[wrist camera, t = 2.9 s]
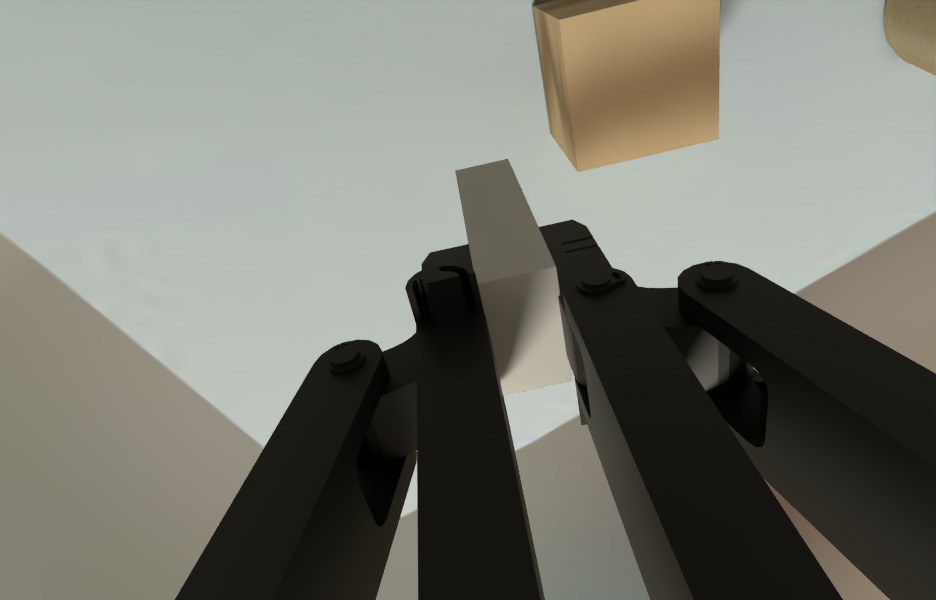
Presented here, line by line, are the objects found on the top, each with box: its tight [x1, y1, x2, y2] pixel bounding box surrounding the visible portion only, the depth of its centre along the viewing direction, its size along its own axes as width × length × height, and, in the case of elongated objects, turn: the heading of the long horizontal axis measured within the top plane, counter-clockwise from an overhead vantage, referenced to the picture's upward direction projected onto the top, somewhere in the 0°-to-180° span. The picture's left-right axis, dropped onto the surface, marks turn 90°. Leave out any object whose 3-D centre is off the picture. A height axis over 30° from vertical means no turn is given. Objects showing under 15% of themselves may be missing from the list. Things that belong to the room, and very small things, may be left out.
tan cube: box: [532, 0, 720, 172], centre depth 26 cm, size 6×6×6 cm
